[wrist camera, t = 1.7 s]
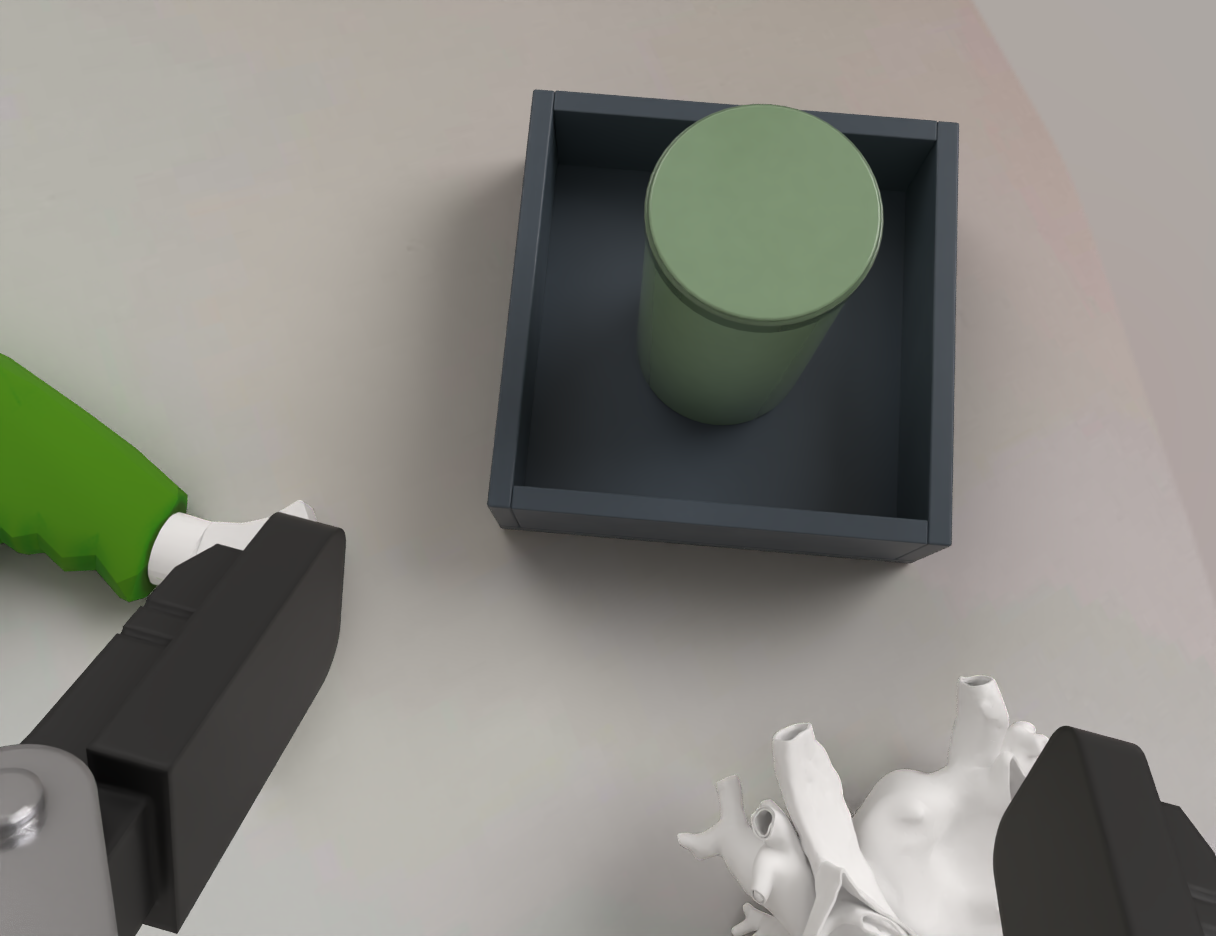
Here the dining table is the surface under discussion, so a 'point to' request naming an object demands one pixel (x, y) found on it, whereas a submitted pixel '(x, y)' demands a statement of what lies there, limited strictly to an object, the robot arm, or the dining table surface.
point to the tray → (740, 453)
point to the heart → (878, 834)
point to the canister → (749, 257)
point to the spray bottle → (95, 494)
